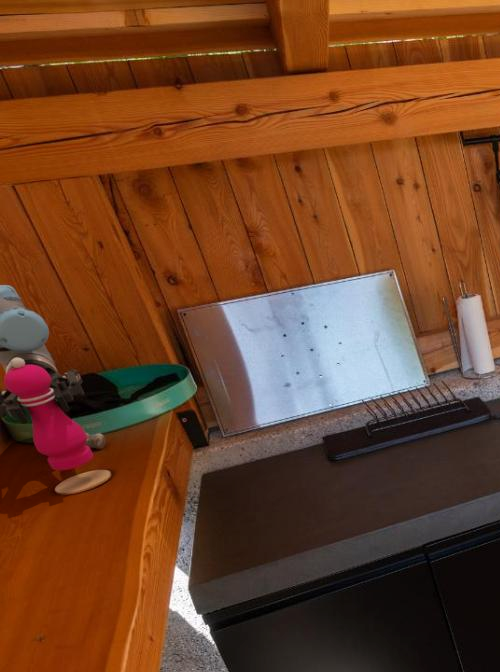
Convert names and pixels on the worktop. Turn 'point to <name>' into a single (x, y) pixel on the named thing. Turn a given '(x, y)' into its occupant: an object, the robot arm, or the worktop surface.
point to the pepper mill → (48, 417)
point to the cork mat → (83, 482)
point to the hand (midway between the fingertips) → (42, 410)
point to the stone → (95, 441)
